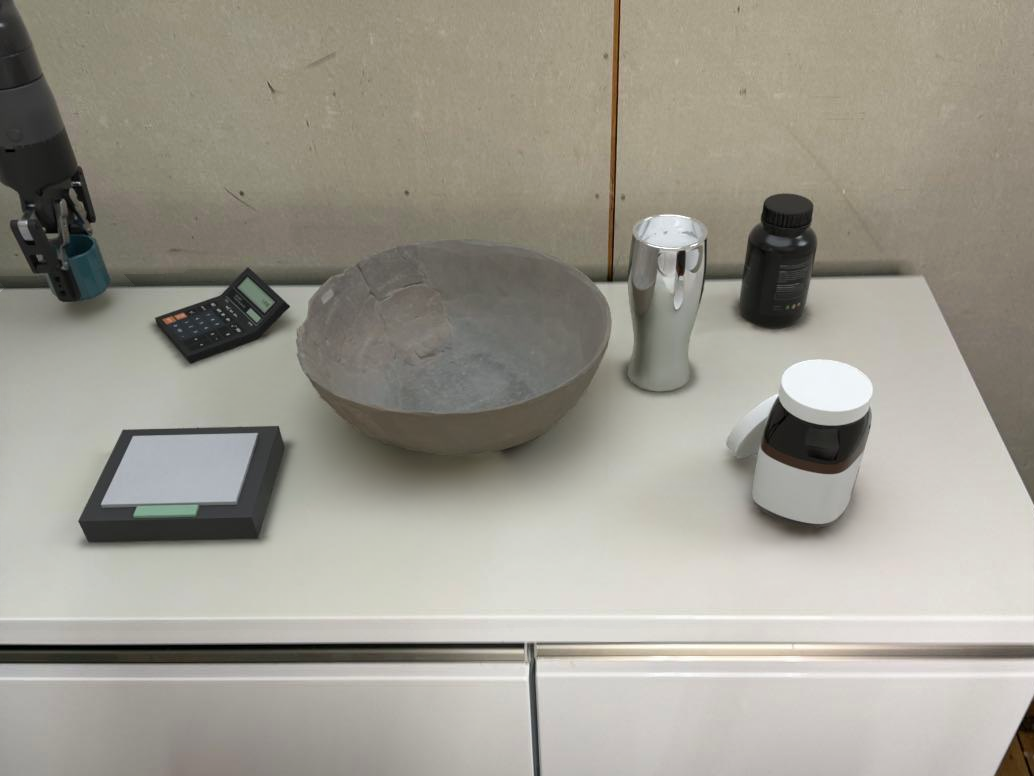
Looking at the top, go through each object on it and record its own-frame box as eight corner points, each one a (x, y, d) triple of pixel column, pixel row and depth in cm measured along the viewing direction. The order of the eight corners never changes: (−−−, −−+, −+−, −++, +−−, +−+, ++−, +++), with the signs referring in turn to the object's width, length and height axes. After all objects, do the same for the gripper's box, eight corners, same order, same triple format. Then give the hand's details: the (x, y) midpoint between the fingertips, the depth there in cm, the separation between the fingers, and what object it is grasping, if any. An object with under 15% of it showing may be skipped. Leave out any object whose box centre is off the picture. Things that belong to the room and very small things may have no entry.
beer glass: (643, 402, 91) (653, 256, 80) (610, 364, 95) (616, 221, 85) (707, 384, 93) (725, 239, 82) (672, 348, 97) (685, 206, 87)
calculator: (157, 324, 103) (148, 299, 100) (257, 290, 107) (251, 265, 105) (190, 363, 97) (182, 338, 95) (294, 325, 102) (288, 300, 100)
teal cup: (45, 304, 102) (27, 261, 99) (64, 276, 107) (48, 234, 103) (101, 303, 102) (85, 260, 99) (118, 275, 107) (104, 233, 103)
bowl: (372, 314, 103) (358, 227, 96) (627, 338, 99) (631, 248, 92) (270, 478, 84) (243, 384, 77) (580, 517, 79) (582, 421, 72)
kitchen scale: (88, 542, 79) (75, 517, 77) (131, 450, 87) (121, 425, 85) (258, 538, 78) (250, 513, 77) (284, 446, 87) (278, 422, 85)
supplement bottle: (810, 302, 103) (831, 194, 95) (795, 334, 99) (815, 224, 90) (747, 290, 105) (763, 183, 97) (730, 321, 101) (745, 212, 92)
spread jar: (827, 551, 76) (858, 435, 68) (695, 506, 80) (709, 391, 72) (869, 465, 83) (901, 351, 75) (746, 428, 88) (764, 316, 79)
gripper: (11, 101, 98) (69, 253, 109) (-50, 158, 87) (21, 320, 99) (85, 100, 98) (135, 252, 109) (33, 157, 87) (94, 319, 99)
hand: (81, 284), depth 104 cm, fingers closed on teal cup, 6 cm apart
